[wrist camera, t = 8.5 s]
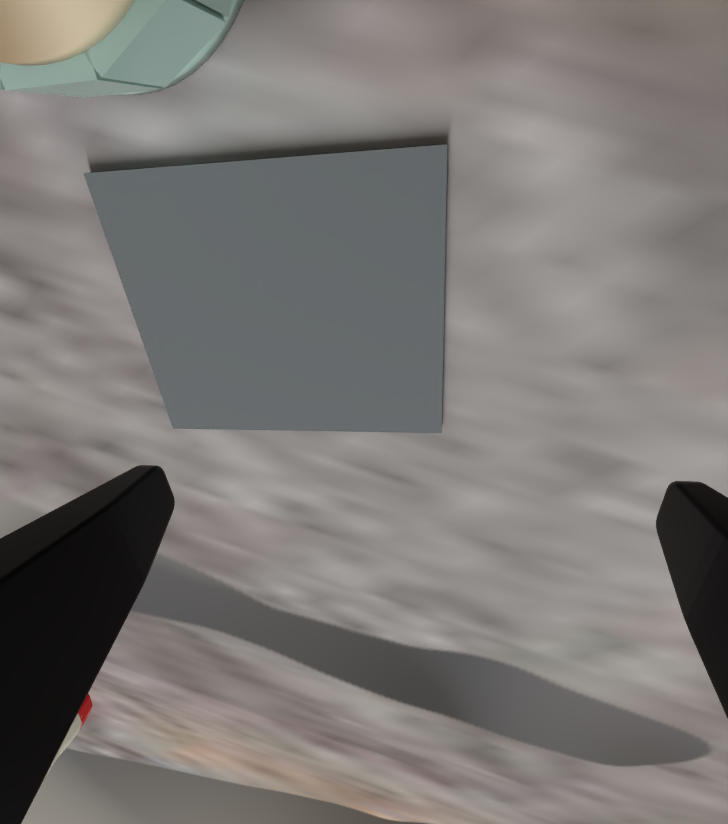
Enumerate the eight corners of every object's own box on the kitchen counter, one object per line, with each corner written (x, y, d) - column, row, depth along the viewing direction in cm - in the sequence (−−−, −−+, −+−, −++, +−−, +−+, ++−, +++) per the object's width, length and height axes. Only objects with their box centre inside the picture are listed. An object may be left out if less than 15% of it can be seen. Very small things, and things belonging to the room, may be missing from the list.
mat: (447, 143, 16) (447, 144, 16) (441, 428, 22) (441, 432, 22) (90, 172, 18) (83, 173, 18) (176, 424, 24) (173, 428, 24)
